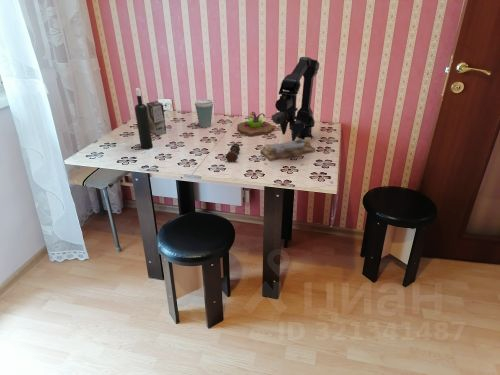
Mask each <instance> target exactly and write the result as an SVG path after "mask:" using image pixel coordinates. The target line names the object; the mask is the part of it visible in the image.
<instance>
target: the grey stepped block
mask: <svg viewBox="0 0 500 375" xmlns="http://www.w3.org/2000/svg"><path fill="white" fill-rule="evenodd" d="M304 143H305V142H304V141H303V139H295V141H292V140H291V141H287V142H286V141H285V142H283V143H282V142H281V143H279V142H276V143H270V145H271V151H272V152H274V153H275V154H276V155H278V154H283V153H284V152H288V151H293V150H298V149H303V148H304Z"/></svg>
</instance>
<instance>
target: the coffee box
mask: <svg viewBox="0 0 500 375" xmlns="http://www.w3.org/2000/svg"><path fill="white" fill-rule="evenodd" d="M145 105H146V106H147V111H148V118H149V124H150V131H151V133H153V134H154V135H155V136H159V135H164V134H167V125H166V117H165V111H164V104H162V103H161V102H159V101H156V100H155V101H152V102H145Z"/></svg>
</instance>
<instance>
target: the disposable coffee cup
mask: <svg viewBox="0 0 500 375" xmlns="http://www.w3.org/2000/svg"><path fill="white" fill-rule="evenodd" d="M194 106H195V110H196V115H197V120H198V126H199V127H200V128H203V129H204V128H210V127H211V124H212V120H213V119H212V117H213V106H214V101H213V100H212V99H207V98H206V99H205V98H204V99H199V100H196V101H195V102H194Z"/></svg>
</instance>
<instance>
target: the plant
mask: <svg viewBox="0 0 500 375" xmlns="http://www.w3.org/2000/svg"><path fill="white" fill-rule="evenodd" d="M249 115H250V116H253V118H252V117H249V119H248V120H246V121H243V122H239V123H238V124H237V127H236V128H237V130H236V131H237V132H238V133H239V134H241V135H242V136H243V135H244V136H246V137H249V138H250V137H252V138H253V137H259V136H265V135H269V134H272V132H275V127H276V126H274V125H273V124H271V123H269V122H267V121H265V120H263V119H262V117H260V116H263V117H264V118H265V117H266V114H265V113H263V112H262V113H259V114H258V115H257V114H256V112H255V111H251V112H250V113H249Z"/></svg>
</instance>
